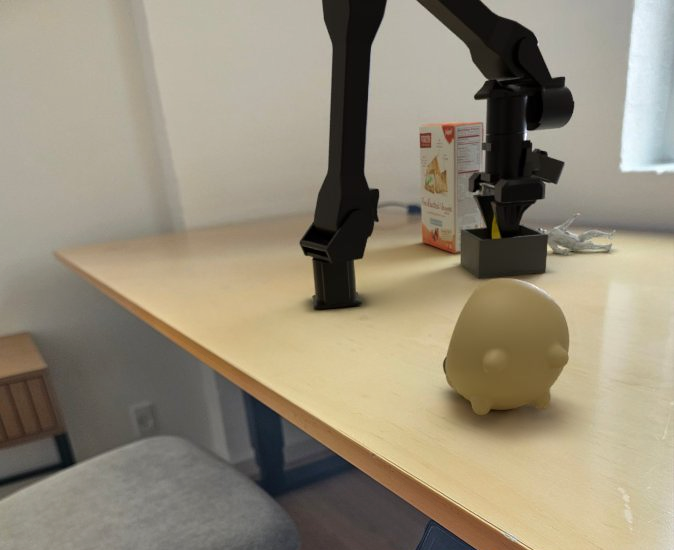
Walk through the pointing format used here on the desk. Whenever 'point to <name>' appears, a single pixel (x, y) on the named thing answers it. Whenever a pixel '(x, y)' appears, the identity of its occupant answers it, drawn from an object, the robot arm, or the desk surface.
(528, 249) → the basket
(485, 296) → the toy pig
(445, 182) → the cracker box
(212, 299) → the desk surface
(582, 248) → the soldier figure
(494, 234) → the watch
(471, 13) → the robot arm
